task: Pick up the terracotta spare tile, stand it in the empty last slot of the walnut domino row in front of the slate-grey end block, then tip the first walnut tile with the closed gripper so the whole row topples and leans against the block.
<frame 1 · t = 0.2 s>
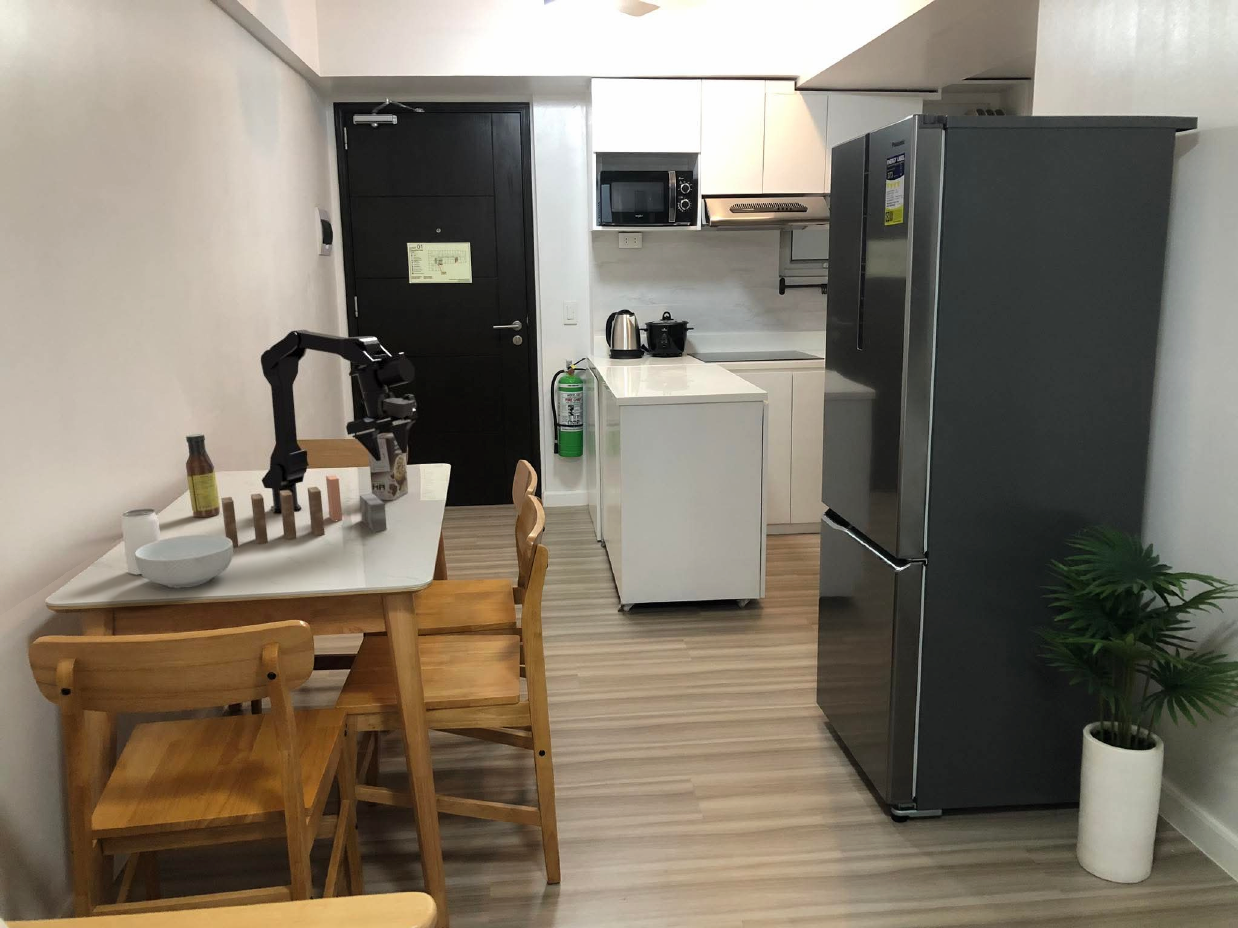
hand: (392, 457, 222), 15 cm above the table, tool pointing down, fingers open, 9 cm apart
coffee box: (390, 496, 249), on the table
domino 2: (261, 540, 210), on the table
domino 1: (232, 544, 208), on the table
sauce bottle: (206, 515, 234), on the table
domino 3: (290, 536, 213), on the table
domino 4: (318, 532, 216), on the table
can: (146, 571, 191), on the table
cereal bowl: (188, 582, 183), on the table
end stop: (373, 524, 221), on the table
end tile: (335, 518, 228), on the table
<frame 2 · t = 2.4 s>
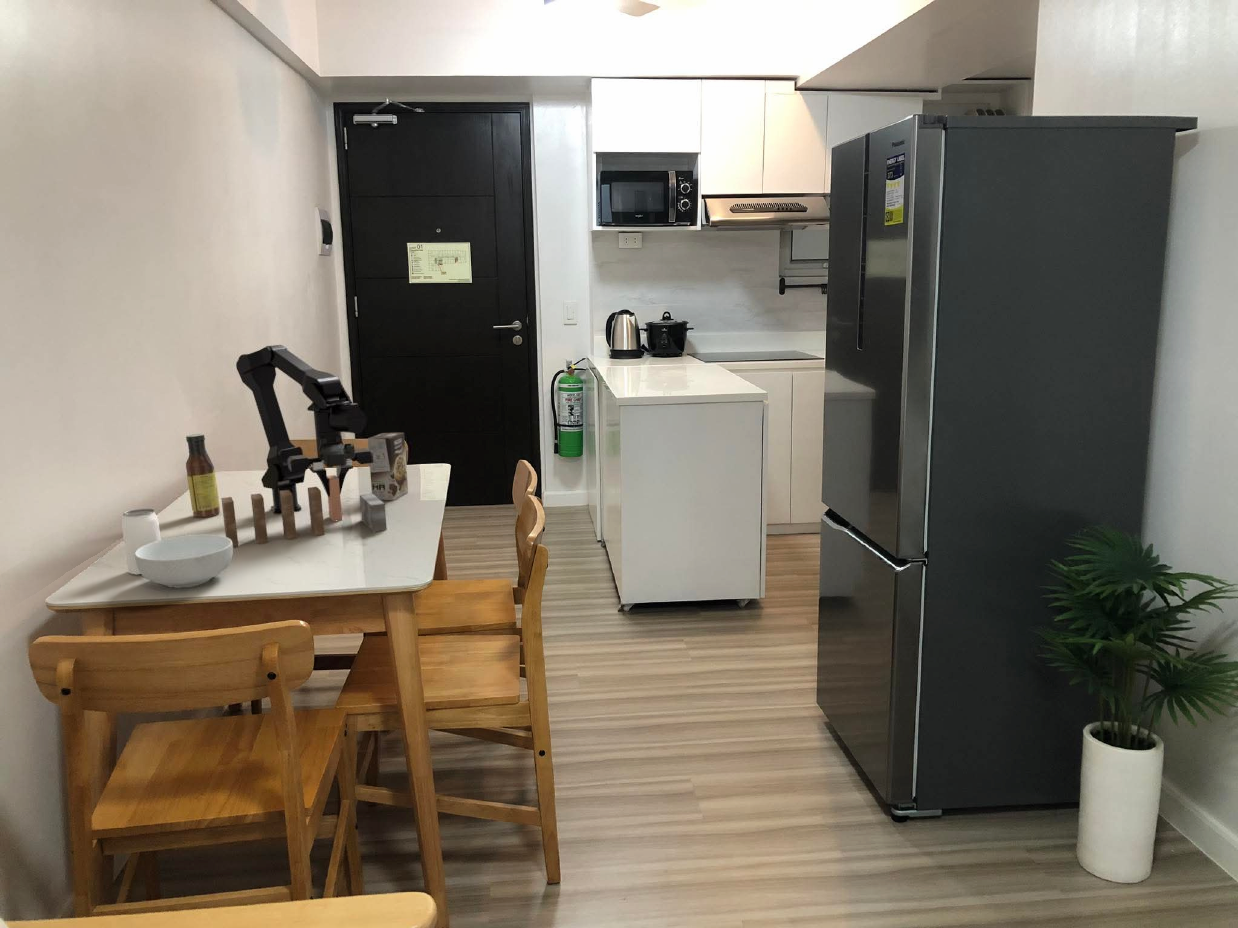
hand: (333, 495, 227), 6 cm above the table, tool pointing down, fingers closed on end tile, 2 cm apart
end tile: (335, 518, 228), on the table, touching gripper
everything else where it was.
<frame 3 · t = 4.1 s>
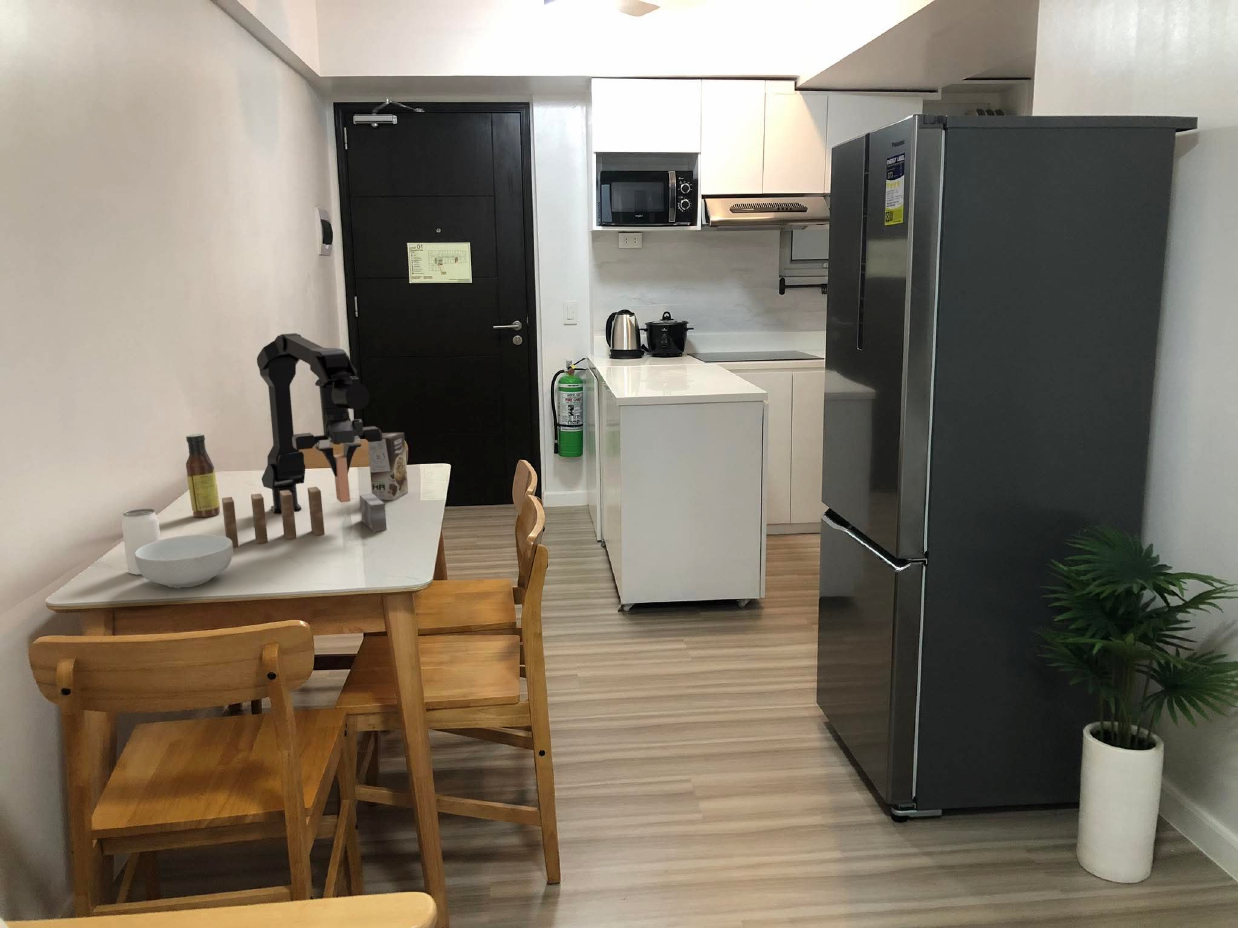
hand: (341, 475, 216), 12 cm above the table, tool pointing down, fingers closed on end tile
end tile: (343, 499, 217), point 7 cm above the table, touching gripper
everything else where it was.
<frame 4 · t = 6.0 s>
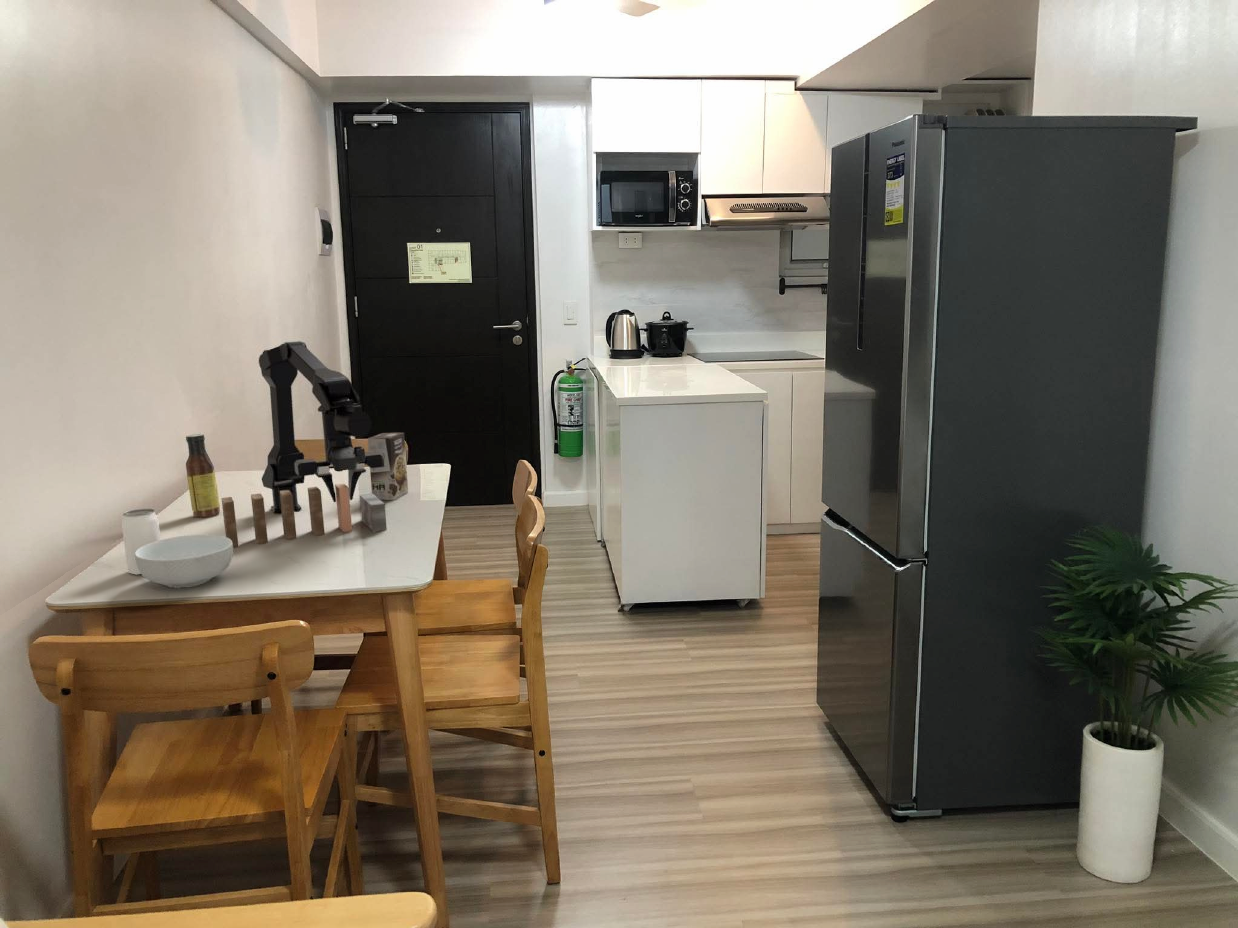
hand: (342, 500, 217), 6 cm above the table, tool pointing down, fingers open, 3 cm apart
end tile: (345, 528, 218), on the table
everything else where it was.
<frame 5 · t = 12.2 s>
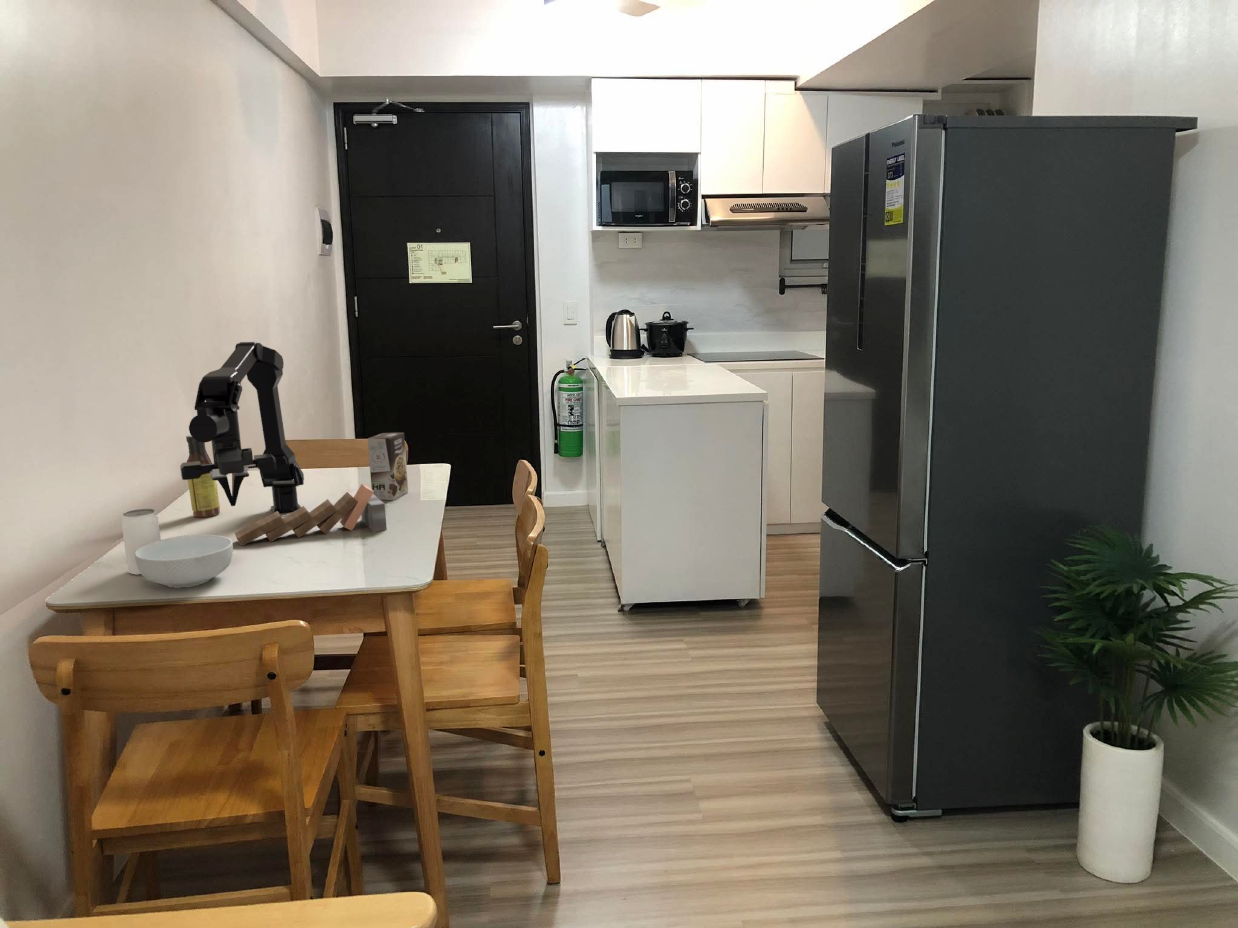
hand: (233, 505, 206), 8 cm above the table, tool pointing down, fingers closed
domino 2: (266, 535, 211), point 1 cm above the table, tilted 66°, touching domino 1, domino 3
domino 1: (237, 539, 208), point 1 cm above the table, tilted 68°, touching domino 2
domino 3: (294, 532, 213), point 1 cm above the table, tilted 60°, touching domino 2, domino 4
domino 4: (320, 528, 216), point 1 cm above the table, tilted 50°, touching domino 3, end tile
end tile: (345, 526, 218), point 1 cm above the table, tilted 34°, touching domino 4, end stop
everything else where it was.
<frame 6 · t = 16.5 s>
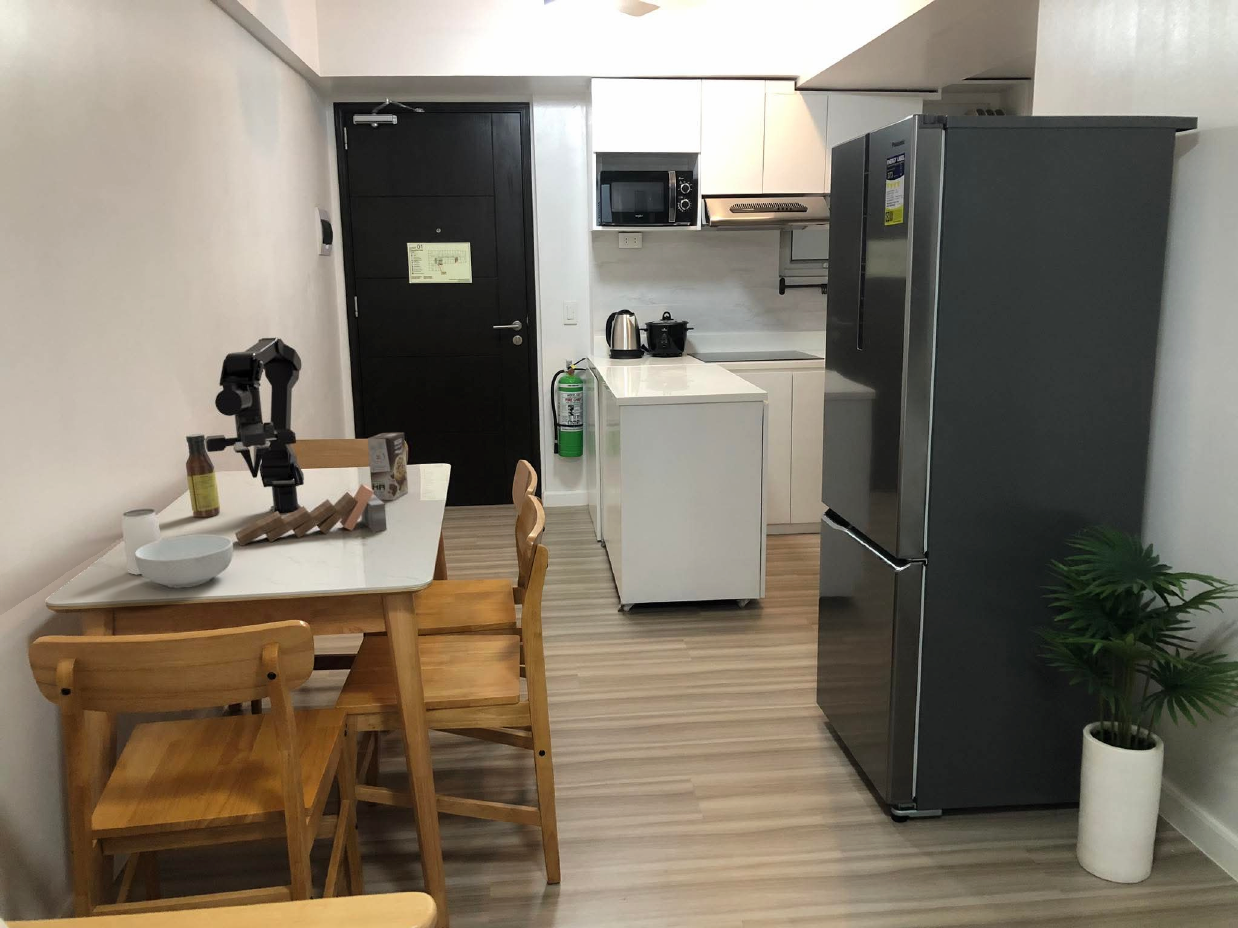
hand: (254, 477, 218), 12 cm above the table, tool pointing down, fingers closed
nothing on the table moved.
at the end: end tile tilted 34°; end tile touching domino 4, end stop, table; domino 1 tilted 68° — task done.
